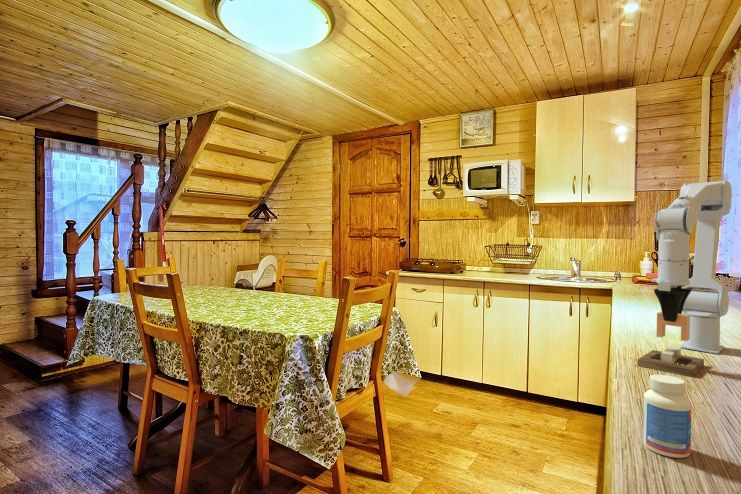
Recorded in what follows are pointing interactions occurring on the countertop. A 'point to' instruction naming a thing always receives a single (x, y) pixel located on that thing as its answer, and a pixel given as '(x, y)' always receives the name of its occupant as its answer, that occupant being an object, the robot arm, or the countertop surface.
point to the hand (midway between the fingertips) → (672, 320)
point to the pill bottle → (667, 417)
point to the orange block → (681, 321)
